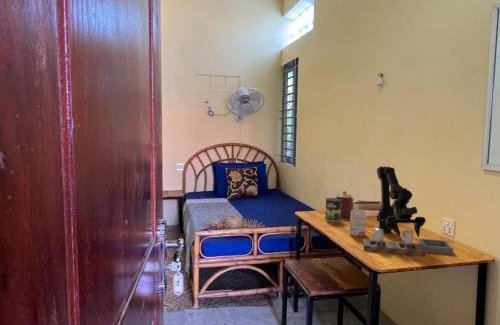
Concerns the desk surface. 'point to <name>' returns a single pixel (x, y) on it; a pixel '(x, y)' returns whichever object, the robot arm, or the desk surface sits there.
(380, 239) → the block
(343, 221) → the desk surface
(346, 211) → the canister
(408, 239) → the loose billet
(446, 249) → the tray
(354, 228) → the ink cartridge box
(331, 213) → the coffee can
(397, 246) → the divided tray
